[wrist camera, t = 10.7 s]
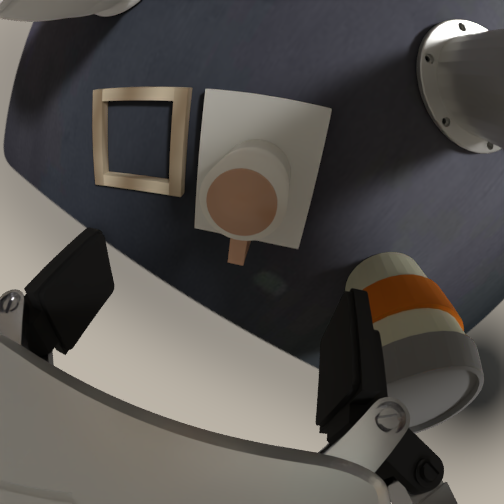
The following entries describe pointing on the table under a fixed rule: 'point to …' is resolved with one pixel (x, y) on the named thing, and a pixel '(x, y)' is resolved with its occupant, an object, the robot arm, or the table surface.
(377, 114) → the table surface
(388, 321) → the reusable coffee cup
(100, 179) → the wooden square frame
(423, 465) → the robot arm
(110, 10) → the jar
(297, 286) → the table surface
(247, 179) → the cylinder with brown end
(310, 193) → the mat
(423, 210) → the table surface
